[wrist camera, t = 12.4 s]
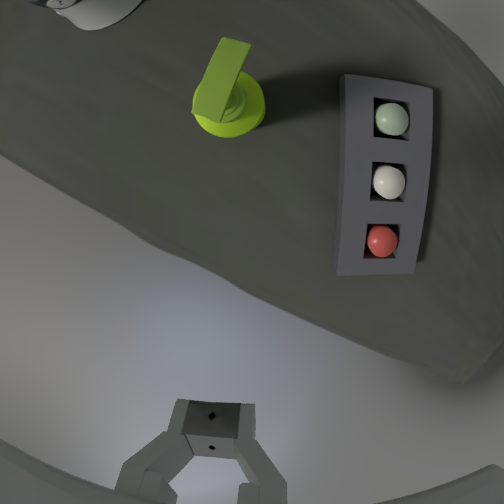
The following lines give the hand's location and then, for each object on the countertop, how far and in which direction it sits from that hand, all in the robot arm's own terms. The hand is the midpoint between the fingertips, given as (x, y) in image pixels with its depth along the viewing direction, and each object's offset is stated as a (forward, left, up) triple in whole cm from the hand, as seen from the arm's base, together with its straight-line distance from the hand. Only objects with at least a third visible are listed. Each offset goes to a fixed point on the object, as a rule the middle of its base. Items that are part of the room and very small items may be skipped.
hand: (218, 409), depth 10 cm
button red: (+5, +17, -30) cm, 35 cm away
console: (-3, +17, -31) cm, 36 cm away
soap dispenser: (-12, -1, -31) cm, 34 cm away
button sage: (-11, +17, -30) cm, 37 cm away
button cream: (-3, +17, -30) cm, 35 cm away
